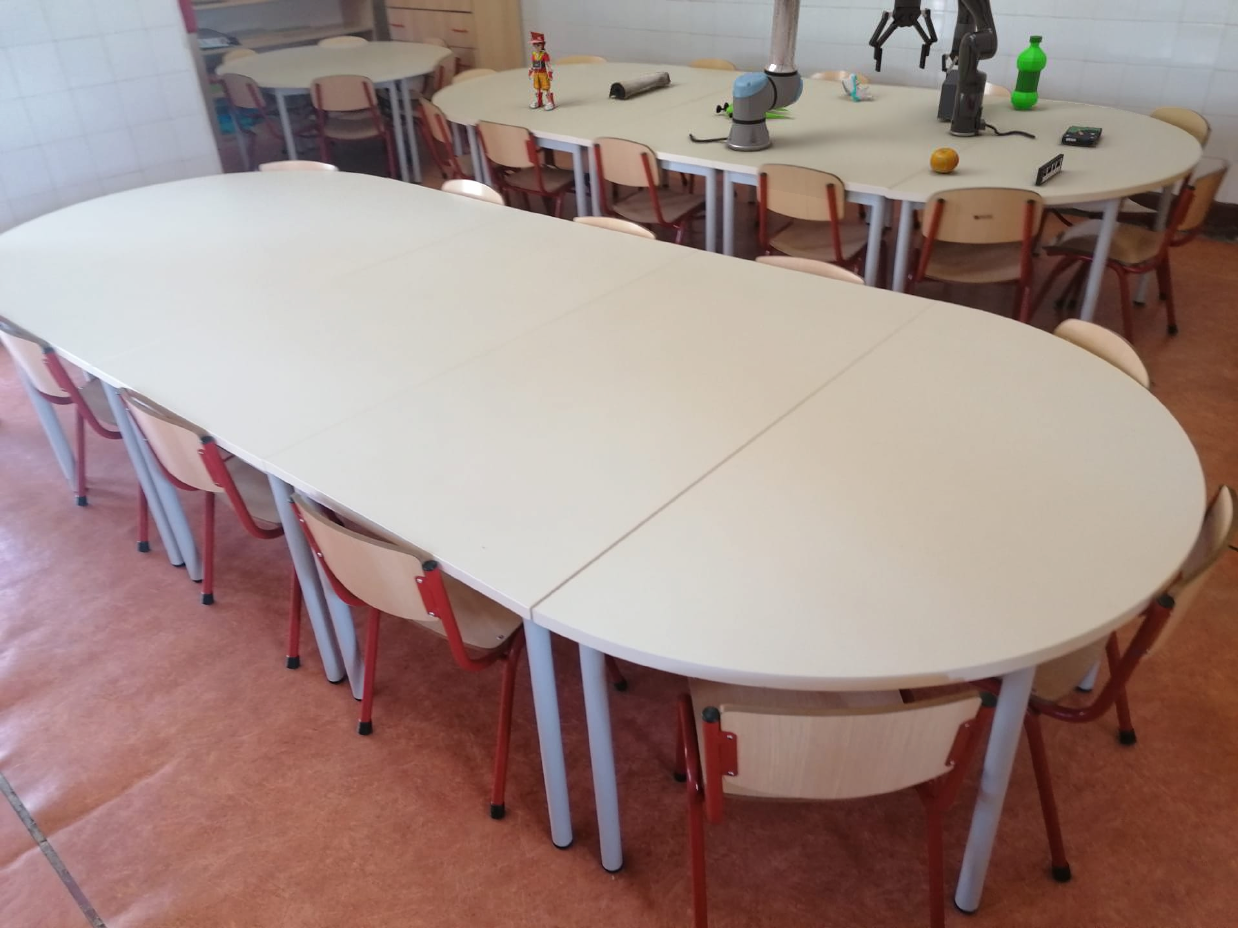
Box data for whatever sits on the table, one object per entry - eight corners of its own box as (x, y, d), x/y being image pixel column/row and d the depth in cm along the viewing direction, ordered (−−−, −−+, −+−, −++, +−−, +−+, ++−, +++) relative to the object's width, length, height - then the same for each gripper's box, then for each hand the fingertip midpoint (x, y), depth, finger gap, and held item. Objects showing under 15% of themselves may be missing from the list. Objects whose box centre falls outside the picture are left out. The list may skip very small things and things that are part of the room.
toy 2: (706, 117, 350) (777, 129, 338) (708, 103, 348) (779, 115, 335) (737, 106, 371) (804, 117, 358) (738, 93, 368) (807, 104, 355)
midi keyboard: (1039, 185, 269) (1043, 168, 266) (1035, 184, 270) (1038, 168, 267) (1060, 170, 279) (1064, 154, 277) (1056, 169, 280) (1060, 153, 277)
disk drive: (1093, 148, 297) (1100, 136, 307) (1095, 139, 295) (1103, 127, 305) (1060, 144, 302) (1068, 133, 312) (1062, 136, 300) (1070, 124, 310)
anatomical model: (837, 72, 370) (861, 66, 369) (839, 98, 376) (863, 91, 375) (847, 80, 358) (872, 73, 357) (850, 107, 364) (874, 100, 363)
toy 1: (525, 109, 381) (517, 32, 364) (534, 104, 388) (527, 28, 371) (550, 110, 377) (543, 32, 360) (559, 105, 384) (553, 28, 367)
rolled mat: (651, 76, 408) (662, 61, 399) (662, 93, 408) (674, 79, 400) (605, 92, 391) (616, 77, 383) (617, 110, 391) (628, 95, 383)
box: (946, 102, 350) (951, 69, 343) (962, 102, 348) (968, 70, 341) (937, 118, 332) (942, 84, 325) (954, 119, 329) (959, 85, 323)
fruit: (924, 163, 281) (941, 140, 278) (925, 165, 289) (941, 143, 286) (946, 178, 280) (963, 155, 277) (947, 180, 288) (963, 158, 285)
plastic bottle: (1042, 108, 341) (1057, 36, 326) (1025, 113, 336) (1039, 40, 322) (1019, 103, 348) (1033, 33, 333) (1002, 108, 343) (1015, 37, 329)
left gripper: (870, -4, 258) (862, 75, 270) (956, -10, 258) (944, 69, 270) (863, -7, 264) (855, 70, 276) (946, -13, 264) (935, 64, 277)
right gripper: (942, 37, 333) (935, 85, 342) (983, 38, 327) (975, 87, 337) (945, 33, 338) (938, 81, 348) (985, 34, 333) (977, 82, 343)
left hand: (899, 70), depth 273 cm, fingers open, 13 cm apart
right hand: (956, 83), depth 342 cm, fingers closed on box, 6 cm apart
